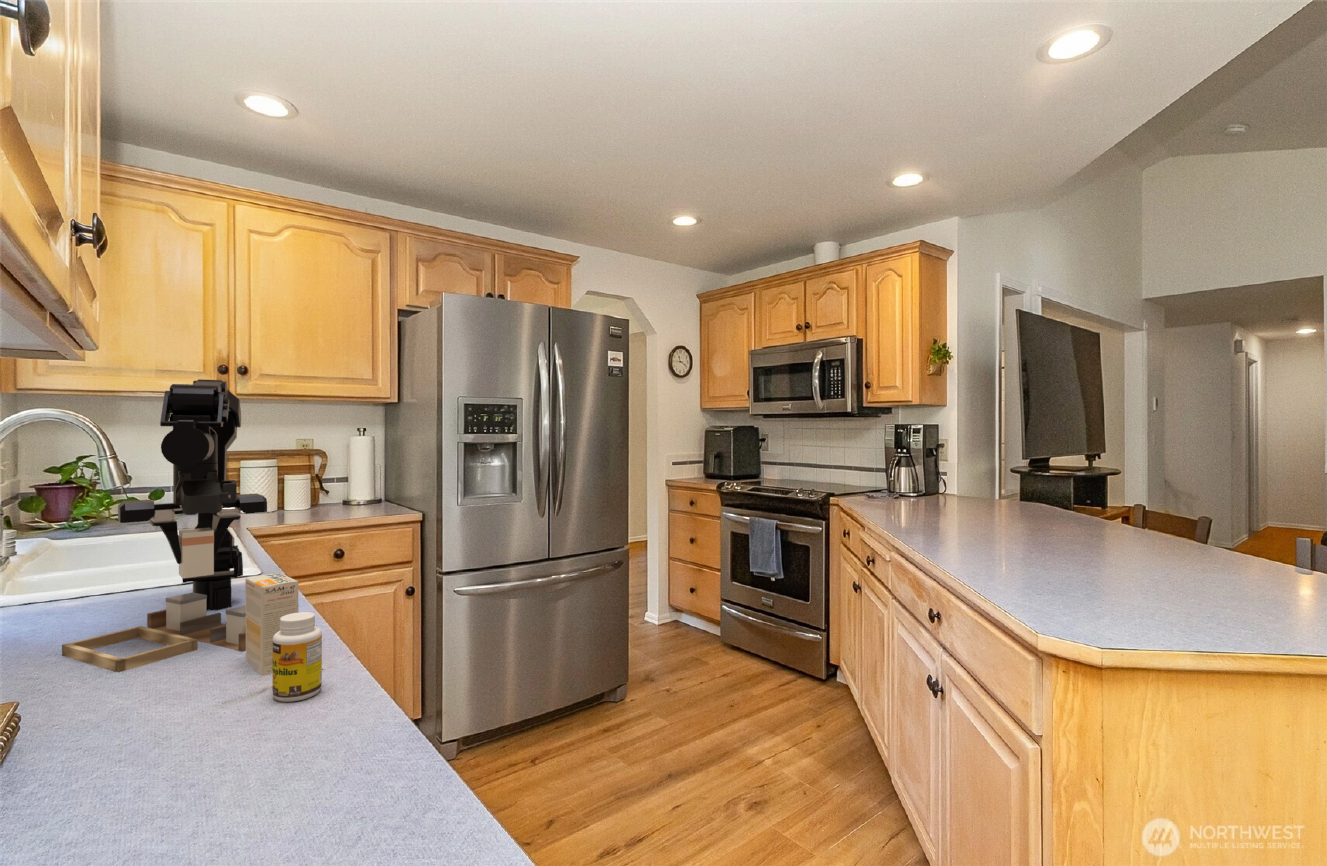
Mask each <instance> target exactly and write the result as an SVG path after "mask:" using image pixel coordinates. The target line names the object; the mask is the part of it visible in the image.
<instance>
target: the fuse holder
mask: <svg viewBox="0 0 1327 866" xmlns="http://www.w3.org/2000/svg"><path fill="white" fill-rule="evenodd" d="M146 615H147V616H146V617H147V619H146V627H147V628H151V629H156V630H160V631H164V632H168V633H172V634H177V635H181V636H185V637H189V638H193V639H197V642H201V643H205V644H209V645H214V646H218V647H222V648H226V649H230V650H234V651H238V652H242V653H243V652H246V632H243V633H240V634H239V645H237V644H233V643H228V642H226V623H222V613H221V612H214V613H212V614H206V616H203V617H199V618H195V619H191V620H187V621H183V622H180V631H177V630H173V629H168V628H166V608H165V609H161V610H158V611H157V610H155V611H152V612H147V614H146Z"/></svg>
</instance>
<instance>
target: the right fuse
mask: <svg viewBox="0 0 1327 866" xmlns="http://www.w3.org/2000/svg"><path fill="white" fill-rule="evenodd" d="M225 617H226V618H225V624H226V642H228V643H233V644H237V645H239V634H240V633H243V632H246V604H244V605H241V606H237V607H233V608H232V607H231V608H227V609H225Z"/></svg>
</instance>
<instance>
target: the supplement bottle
mask: <svg viewBox="0 0 1327 866" xmlns="http://www.w3.org/2000/svg"><path fill="white" fill-rule="evenodd" d="M279 627H280V631H279V632H277V633H276V634H275V635H274V636H273V673H272V689H271V690H272V697H273V698H274V699H275V700H276V701H277V702H278V701H279V702H283V703H284V702H285V703H289V702H290V703H291V702H293V703H294V702H297V701H298V702H299V701H302V700H306V699H309V698H312V697H314V696H316V695H317V694H318V693H319V692H320V691H321V689H322V684H323V683H322V682H323V680H322V678H323V677H322V675H323V673H322V672H323V671H322V670H323V669H322V668H323V665H322V664H323V661H322V660H323V659H322V657H323V655H322V653H323V652H322V651H323V634H322V633H323V632H322V629H321V628H320V627H319V626H318V627H317V625H316V615H315V613H313V612H311V611H310V612H309V611H308V612H307V611H301V612H299V611H298V613H292V614H288V615H285V616H283V617H281V618H280V626H279Z"/></svg>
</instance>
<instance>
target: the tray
mask: <svg viewBox="0 0 1327 866" xmlns="http://www.w3.org/2000/svg"><path fill="white" fill-rule="evenodd" d="M134 639H135V640H136V639H142V640H146V641H150V642H154V643H157V644H161V645H165V646H163V647H158V648H156V649H152V650H148V651H144V652H141V653H137V654H133V655H130V656H129V655H128V656H126V657H119V656H115V655H112V654H108V653H104V652H101V651H97V650H95V649H100V648H103V647H107V646H111V645H115V644H119V643H123V642H126V641H130V640H134ZM194 651H198V641H197V639H193V638H189V637H185V636H181V635H177V634H172V633H168V632H164V631H160V630H156V629H151V628H147V626H142V625H140V626H135V627H131V628H126V629H123V630H119V631H118V630H117V631H115V632H114V631H113V632H110V633H105V634H103V635H98V636H93V637H90V638H86V639H81V640H77V641H73V642H70V643H65V644H61V656H63V657H65V658H69V659H73V660H76V661H79V662H82V663H86V664H89V665H92V666H96V667H99V668H103V669H106V670H109V671H114V673H115V672H116V673H121V672H125V671H128V670H131V669H132V670H133V669H135V668H138V667H141V666H146V665H149V664H152V663H156V662H159V661H163V660H166V659H170V658H173V657H177V656H179V655H180V656H181V655H184V654H187V653H190V652H194Z"/></svg>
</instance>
